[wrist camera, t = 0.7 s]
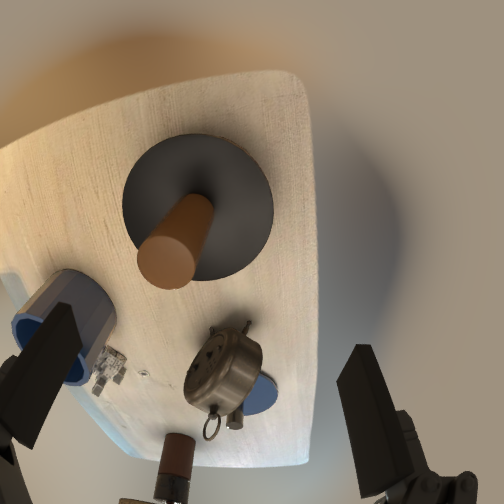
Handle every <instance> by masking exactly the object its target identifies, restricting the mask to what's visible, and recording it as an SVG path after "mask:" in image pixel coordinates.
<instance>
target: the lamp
mask: <svg viewBox="0 0 504 504" xmlns="http://www.w3.org/2000/svg"><path fill="white" fill-rule="evenodd" d="M194 450H195V440H194V439H193V438H191V437H189V436H186V435H183V434H178V433H170V434H167V435H166V437H165V441H164V446H163V451H162V455H161V460H160V466H159V471H158V476H157V482H156V486H155V492H154V497H153V499H155V500H156V501H158V502H161V503H165V504H188V496H189V488H190V479H191V472H192V465H193V457H194ZM119 504H155V503H150V502H144V501H139V500H134V499H126V498H121V499H120V500H119Z"/></svg>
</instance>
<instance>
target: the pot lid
mask: <svg viewBox="0 0 504 504" xmlns="http://www.w3.org/2000/svg"><path fill="white" fill-rule="evenodd" d="M277 397H278V391H277V387H276V385H275V384H274V382H273V381H272V380H271V379H269V378H268V377H267V376H265V375H263V374H261V373H259V376H258V378H257V381H256V383H255V385H254V387H253V389H252V391H251V392H250V394H249V395H248V396H247V398H246V399H245V400H244V401H243V402H242V403H241V405H240V406H239V407H237V408H236V409H235V410H234V411H233V412H231V413H230V414H228V415H227V419H226V427H227V428H229V429H233V430H238V429H241V428H243V416H248V415H254V414H258V413H261V412H263V411H265V410H267V409H269V408H270V407H271V406H272V405H273V404H274V403H275V402H276V400H277Z"/></svg>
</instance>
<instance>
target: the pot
mask: <svg viewBox="0 0 504 504" xmlns="http://www.w3.org/2000/svg"><path fill="white" fill-rule="evenodd" d="M58 302H63V303H67V304H71V306H72V310H73V314H74V317H75V321H76V324H77V328H78V331H79V334H80V337H81V341H82V344H83V347H82V349H81V351H80V353H79V354H78V356H77V358H76V360H75V362H74V363H73V365H72V367H71V369H70V371H69V373H68V375H67V377H66V378H65V380H64V382H63V384H66V385H69V386H82V385H84V384H85V383H87V382H88V381H89V379H90V377H91V375H92V373H93V371H94V369H95V366H96V364H97V362H98V360H99V359H100V357H101V355H102V353H103V351H104V349H105V347H106V345H107V343H108V341H109V339H110V337H111V335H112V334H113V331H114V328H115V326H116V312H115V308H114V306H113V304H112V302H111V300H110V298H109V296H108V295H107V294H106V292H105V291H104V290H103V289H102V288H101V287H100V286H99V285H98V284H97V283H96V282H95V281H94V280H92V279H91V278H90V277H88V276H86V275H85V274H83V273H80V272H78V271H74V270H60V271H58V272H56V273H54V274H53V275H52V276H51V277H50V278H49V279H48V280H47V281H46V282H45V283H44V284H43V285H42V286H41V287H40V288H39V289H38V290H37V291H36V292H35V293H34V294H33V296H32V297H31V298H30V299H29V300H28V301H27V302H26V303H25V304H24V305H23V307H22V308H21V309H20V310H19V311H18V312H17V313H16V315H15V316H14V318H13V320H12V322H11V324H12V334H13V336H14V338H15V340H16V343H17V345H18V347H19V348H20V349H21V351H22V350H23V349H24V347H25V346H26V344H27V343H28V342H29V340H30V339H31V337H32V336H33V335H34V333H35V332H36V330H37V329H38V328H39V326H40V325H41V324H42V322H43V321H44V320H45V318H46V317H47V316H48V314H49V313H50V312H51V311H52V309H53V308H54V307H55V305H56V304H57V303H58Z"/></svg>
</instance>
